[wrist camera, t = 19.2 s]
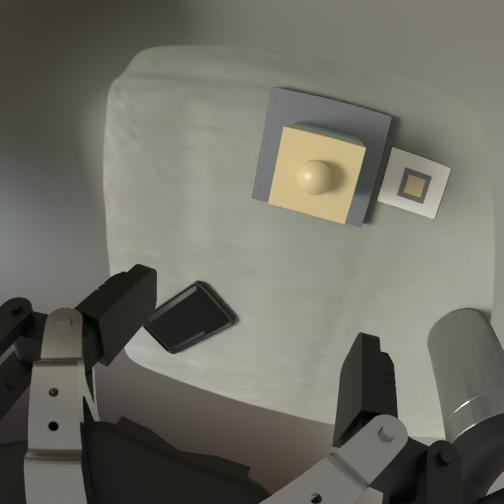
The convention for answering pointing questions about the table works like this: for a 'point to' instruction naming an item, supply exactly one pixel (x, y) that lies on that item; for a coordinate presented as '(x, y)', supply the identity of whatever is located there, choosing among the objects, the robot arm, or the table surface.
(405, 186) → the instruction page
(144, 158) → the table surface
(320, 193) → the yellow knobbed block
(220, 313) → the phone
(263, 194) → the plate
